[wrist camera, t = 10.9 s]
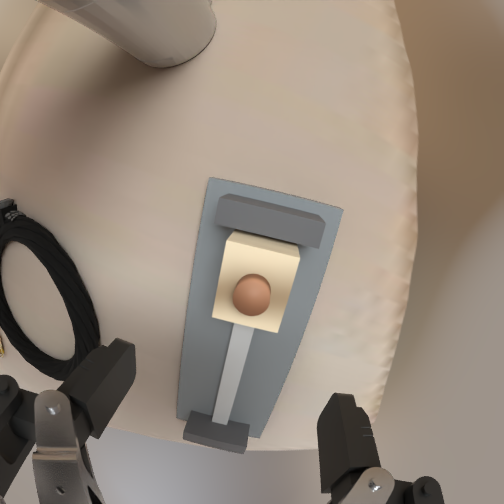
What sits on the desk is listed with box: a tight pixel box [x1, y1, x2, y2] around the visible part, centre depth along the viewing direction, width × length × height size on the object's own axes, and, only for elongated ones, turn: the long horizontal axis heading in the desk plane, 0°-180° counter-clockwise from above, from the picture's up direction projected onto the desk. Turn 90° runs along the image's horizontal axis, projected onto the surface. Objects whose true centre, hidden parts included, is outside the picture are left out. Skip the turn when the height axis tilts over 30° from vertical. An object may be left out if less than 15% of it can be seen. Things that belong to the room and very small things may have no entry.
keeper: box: [212, 229, 300, 333], centre depth 21 cm, size 6×5×7 cm
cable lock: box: [0, 199, 99, 381], centre depth 31 cm, size 28×4×30 cm
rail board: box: [176, 177, 343, 454], centre depth 27 cm, size 32×12×6 cm, turn 167°
